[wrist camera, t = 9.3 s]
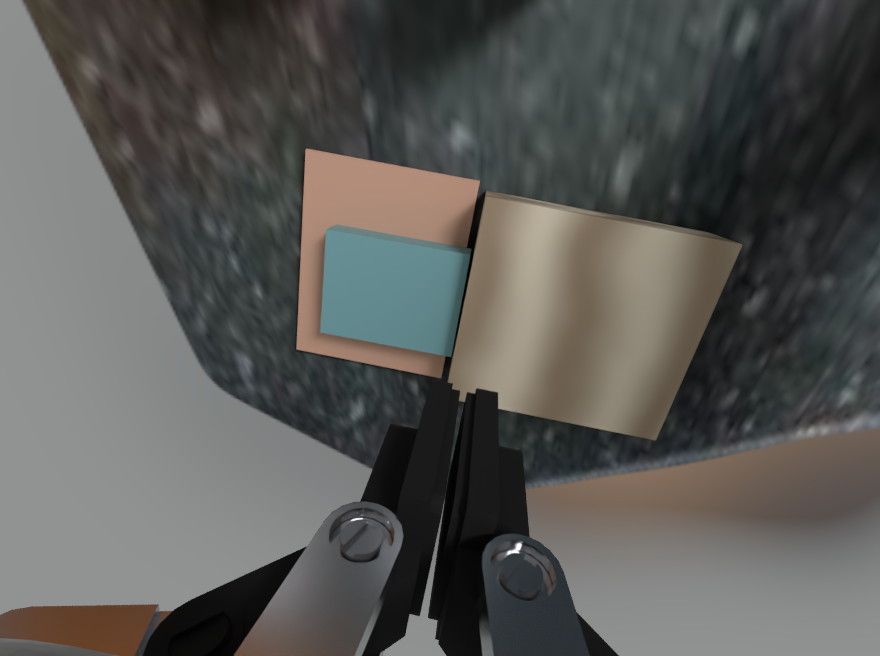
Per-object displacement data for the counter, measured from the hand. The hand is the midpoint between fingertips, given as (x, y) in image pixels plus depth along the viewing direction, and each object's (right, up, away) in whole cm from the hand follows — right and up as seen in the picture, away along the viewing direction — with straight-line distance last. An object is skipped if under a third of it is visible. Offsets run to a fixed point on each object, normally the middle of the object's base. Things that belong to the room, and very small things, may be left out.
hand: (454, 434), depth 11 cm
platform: (+8, +4, +19) cm, 21 cm away
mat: (-4, +7, +19) cm, 21 cm away
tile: (-3, +5, +19) cm, 20 cm away
